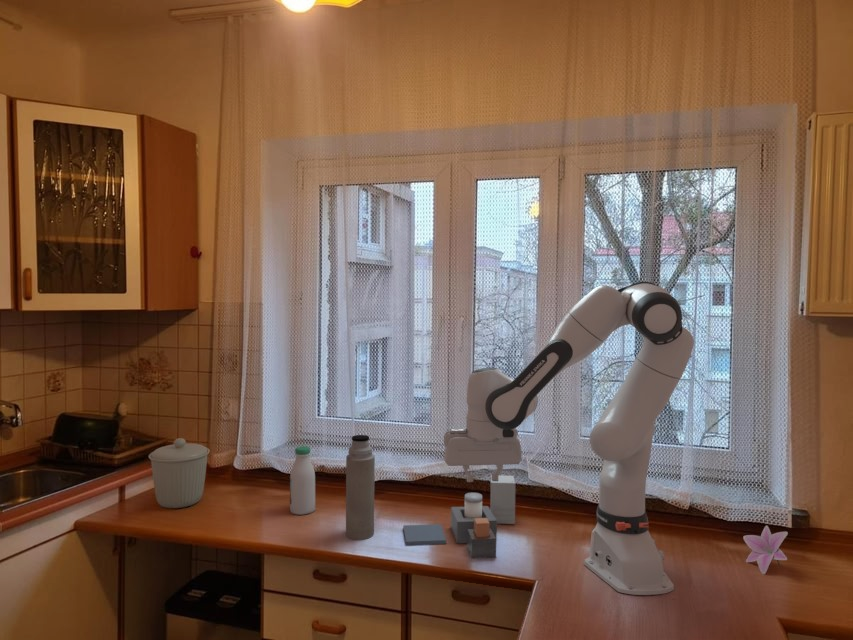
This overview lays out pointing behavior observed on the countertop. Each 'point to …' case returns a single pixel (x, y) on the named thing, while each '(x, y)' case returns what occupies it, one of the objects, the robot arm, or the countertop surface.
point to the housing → (469, 522)
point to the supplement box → (503, 499)
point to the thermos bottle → (360, 489)
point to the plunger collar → (481, 545)
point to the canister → (179, 473)
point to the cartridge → (473, 505)
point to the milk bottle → (302, 483)
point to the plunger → (481, 527)
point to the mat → (424, 534)
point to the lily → (765, 548)
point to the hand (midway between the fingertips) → (482, 481)
